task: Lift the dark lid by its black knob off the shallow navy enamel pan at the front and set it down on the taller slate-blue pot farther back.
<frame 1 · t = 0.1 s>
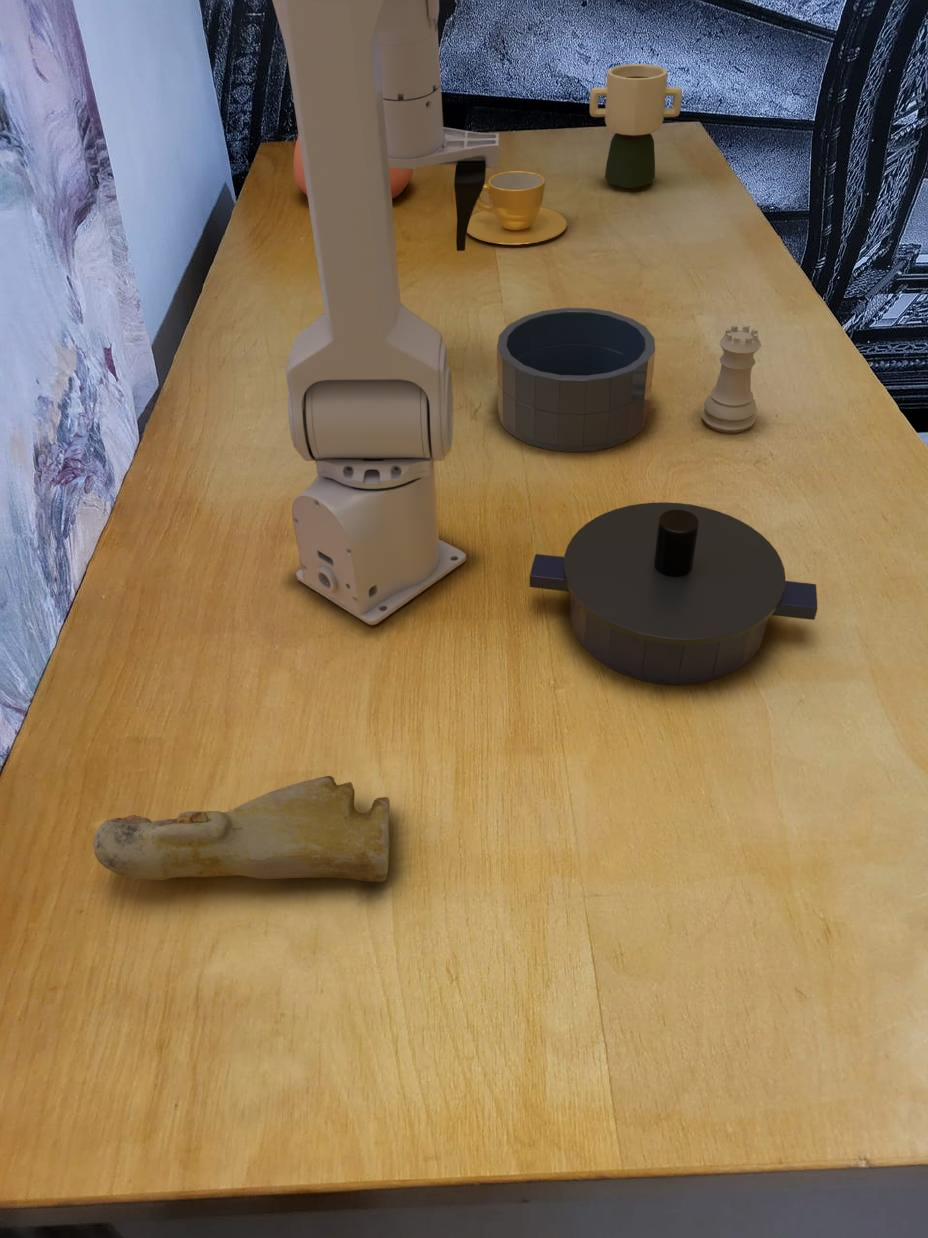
hand: (417, 245, 88), 11 cm above the table, tool pointing down, fingers open, 7 cm apart
pot: (572, 411, 87), on the table
figurine: (253, 856, 54), on the table
teapot: (356, 192, 130), on the table
cup: (515, 229, 118), on the table
character mug: (629, 185, 128), on the table
rook chess piece: (727, 422, 85), on the table
lid: (672, 571, 64), point 4 cm above the table, touching pan
pan: (666, 617, 67), on the table
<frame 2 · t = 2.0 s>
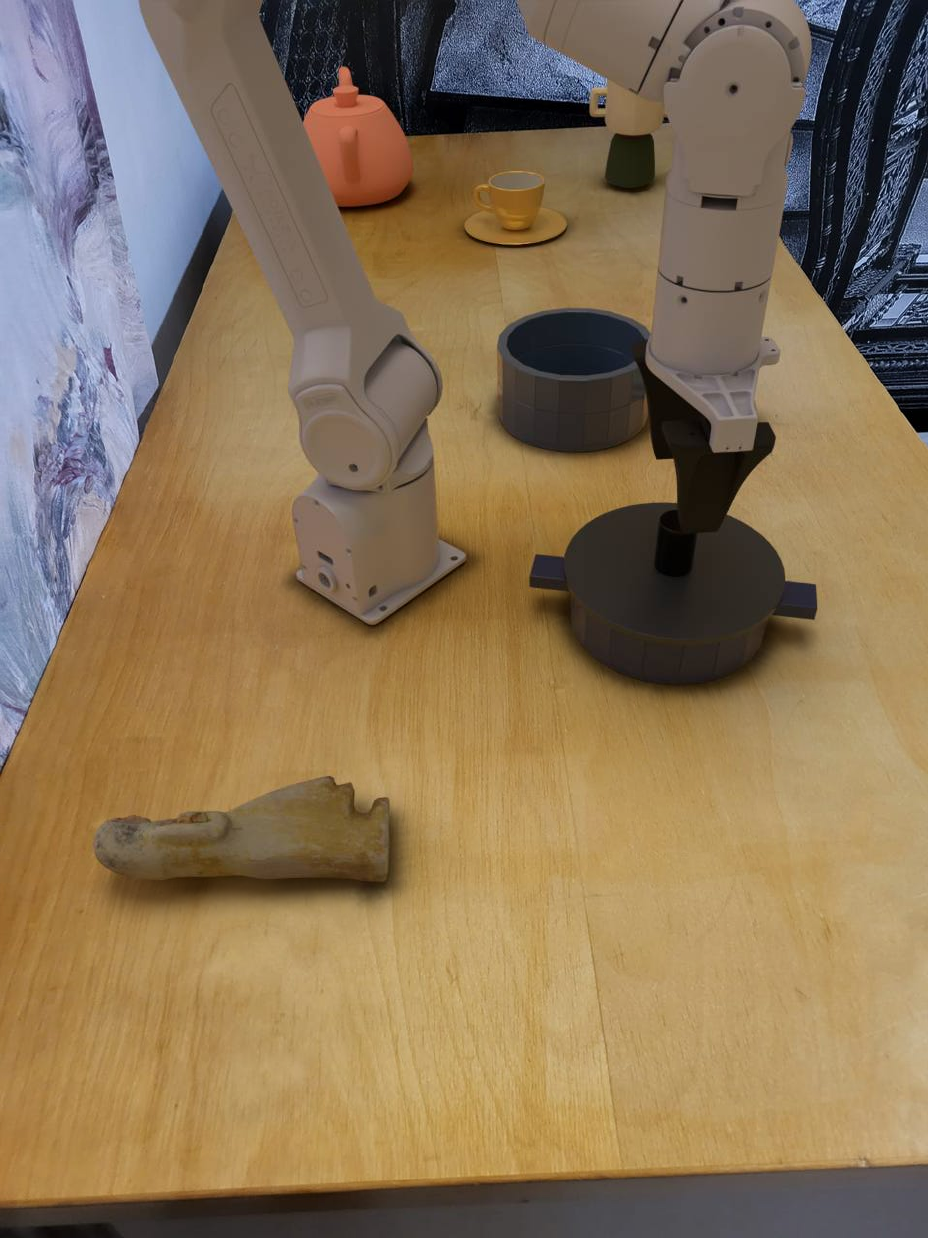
hand: (684, 490, 60), 10 cm above the table, tool pointing down, fingers open, 7 cm apart
nothing on the table moved.
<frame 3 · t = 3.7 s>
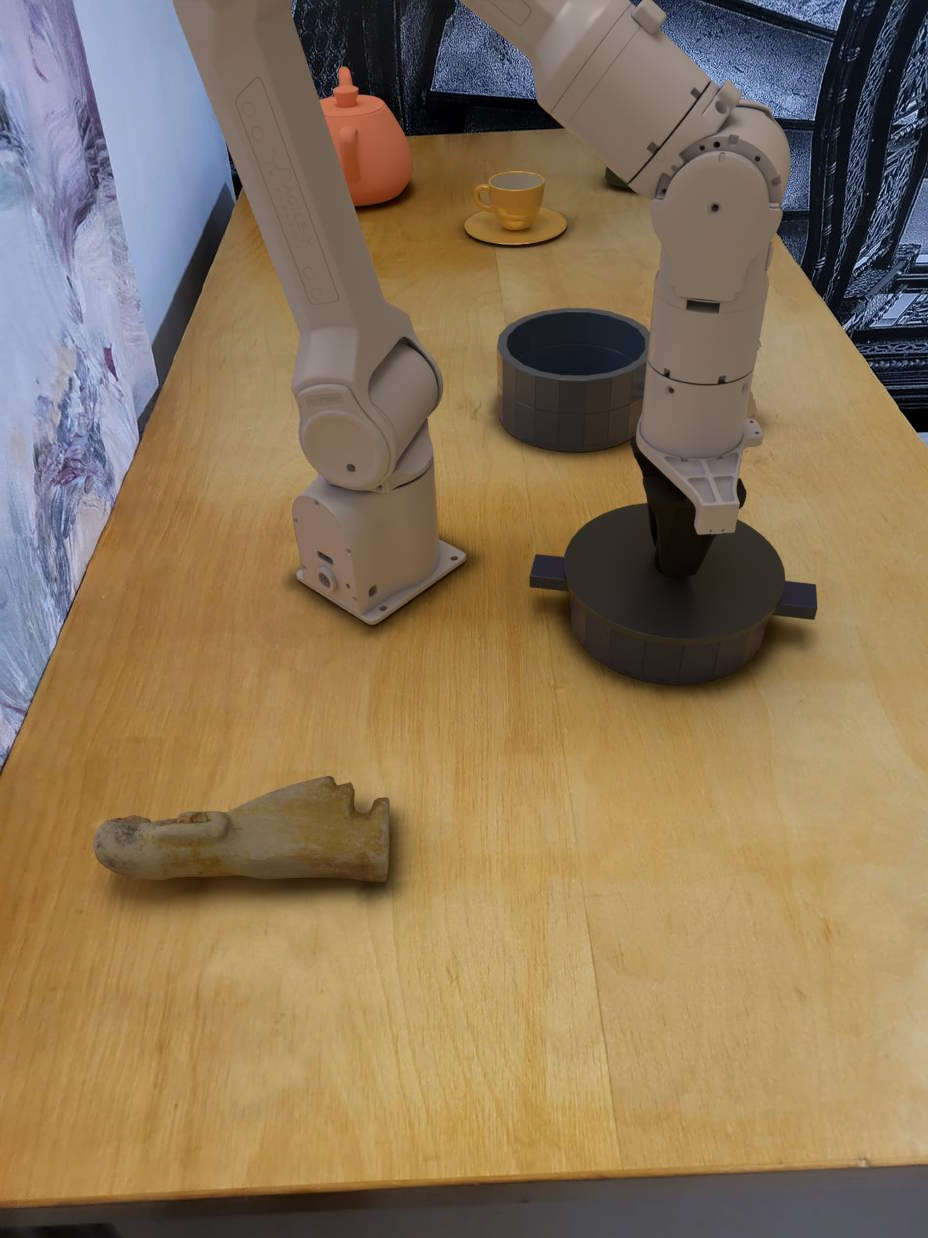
hand: (674, 557, 63), 5 cm above the table, tool pointing down, fingers closed on lid, 2 cm apart
lid: (672, 571, 64), point 4 cm above the table, touching gripper, pan
everything else where it was.
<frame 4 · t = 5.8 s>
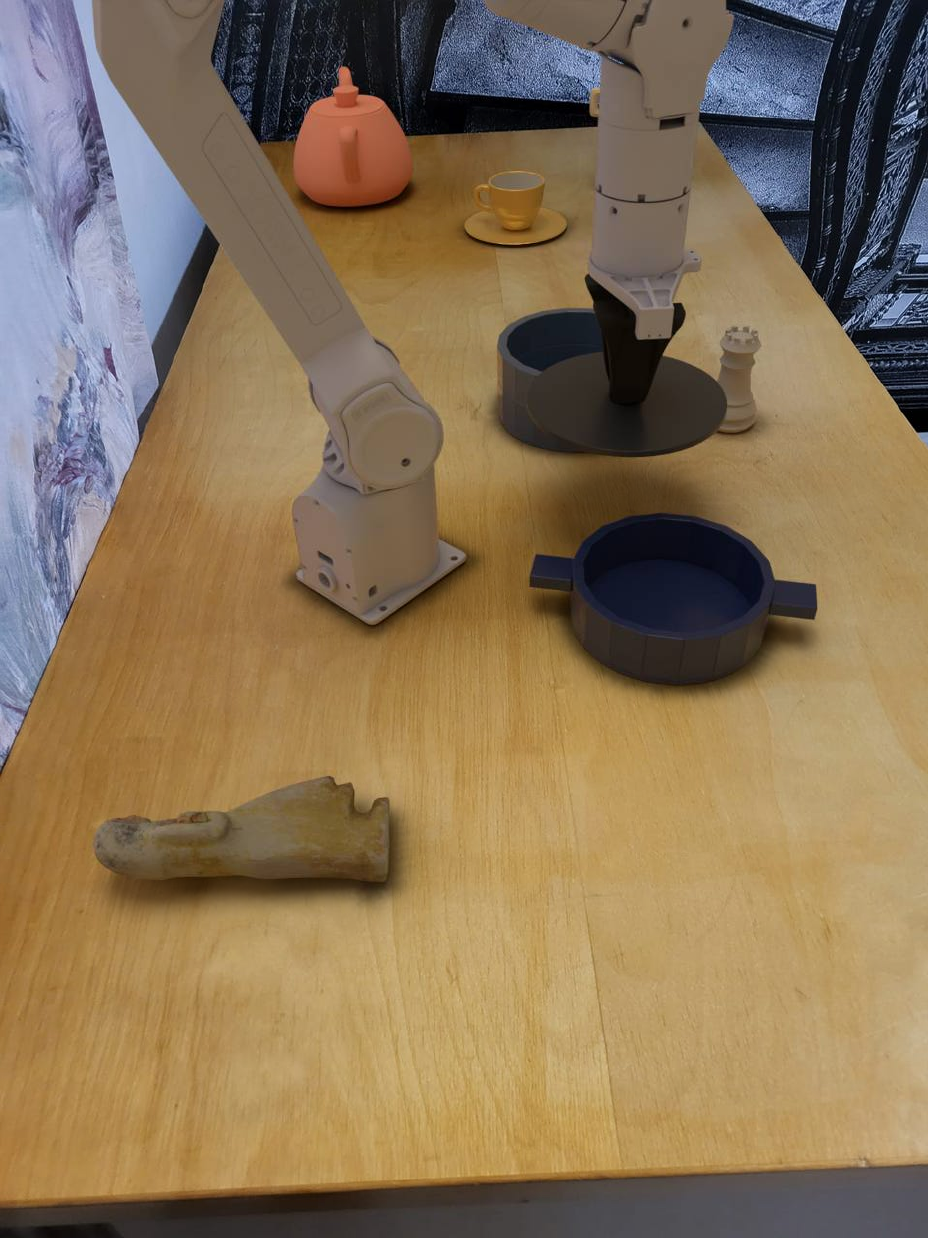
hand: (625, 389, 69), 10 cm above the table, tool pointing down, fingers closed on lid, 2 cm apart
lid: (625, 403, 70), point 9 cm above the table, touching gripper
everything else where it was.
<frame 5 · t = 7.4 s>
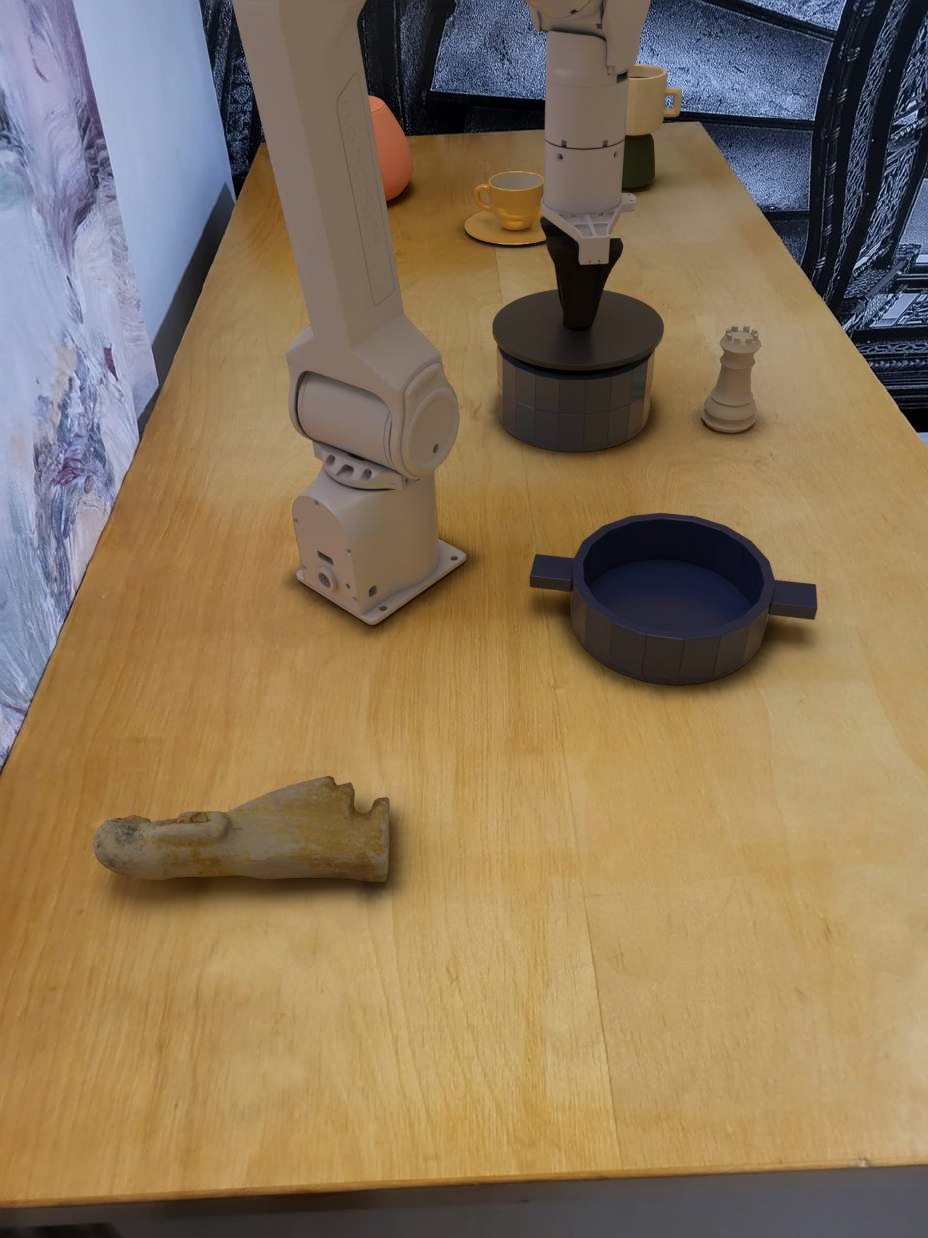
hand: (576, 317, 81), 9 cm above the table, tool pointing down, fingers closed on lid, 2 cm apart
lid: (577, 329, 82), point 8 cm above the table, touching gripper
everything else where it was.
when the fingers open (8 cm above the table, at t = 8.0 s): lid stays where it is, resting on pot.
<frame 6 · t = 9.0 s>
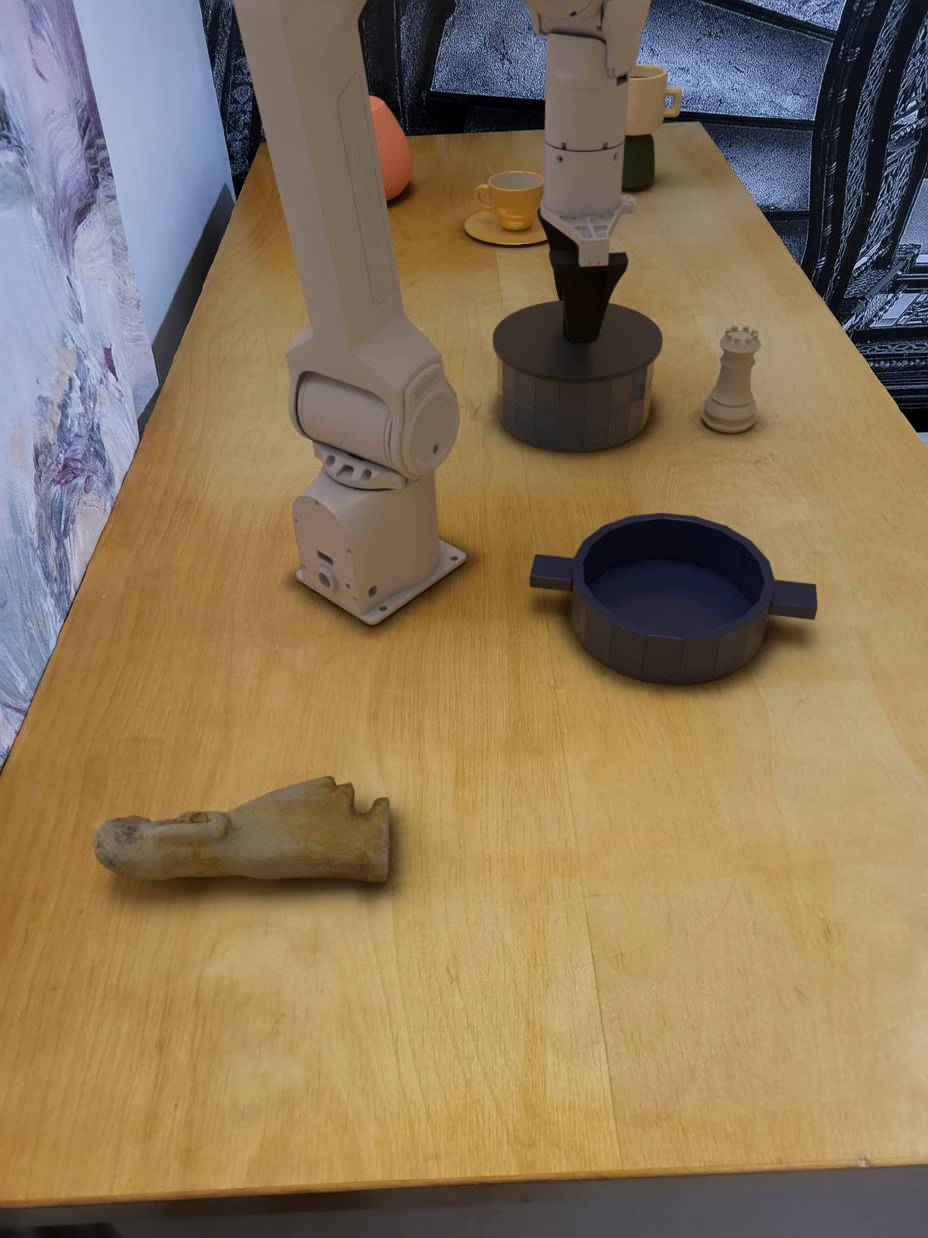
hand: (576, 318, 81), 8 cm above the table, tool pointing down, fingers open, 7 cm apart
lid: (576, 341, 82), point 6 cm above the table, touching pot
everything else where it was.
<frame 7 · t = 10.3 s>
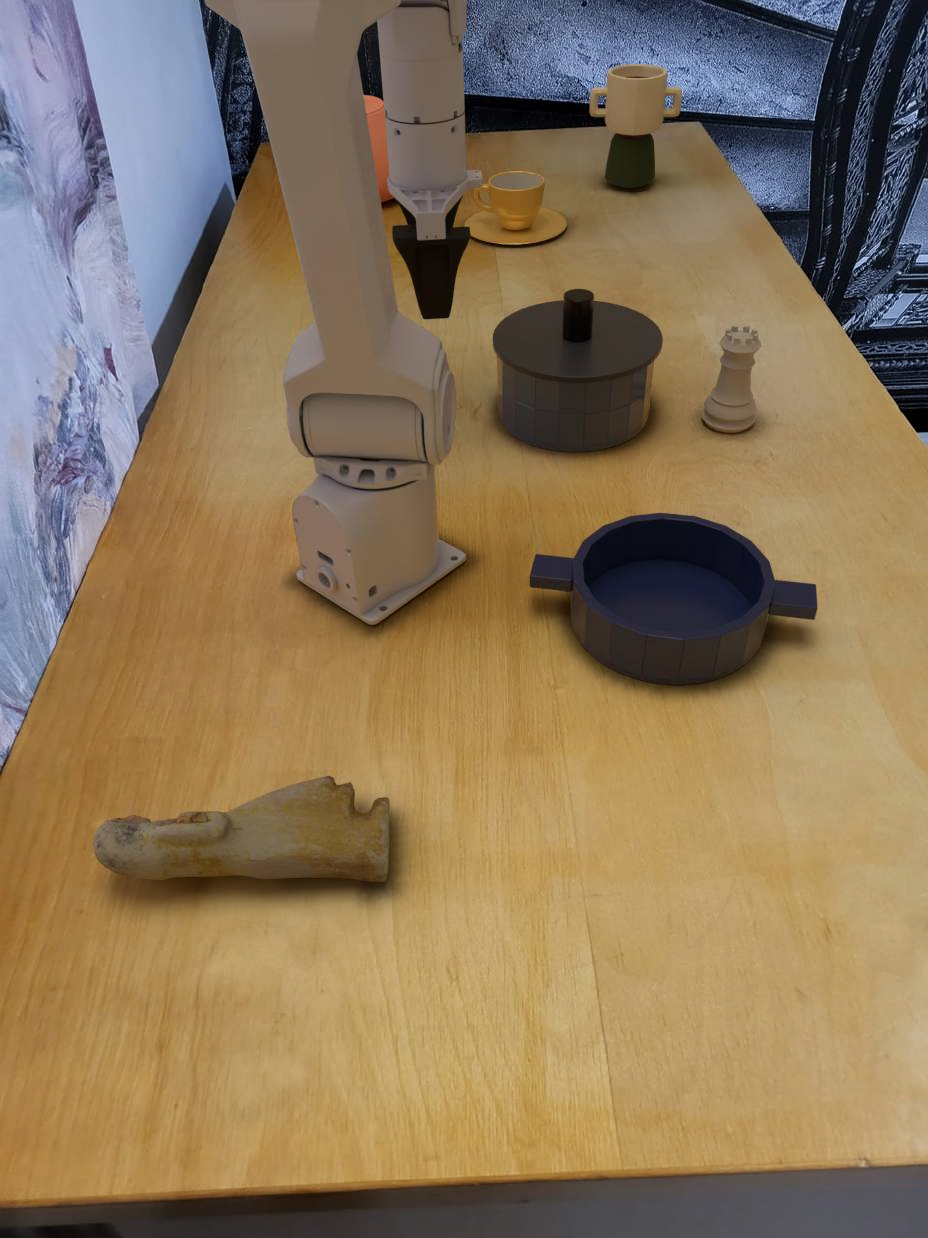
hand: (434, 295, 81), 10 cm above the table, tool pointing down, fingers open, 7 cm apart
nothing on the table moved.
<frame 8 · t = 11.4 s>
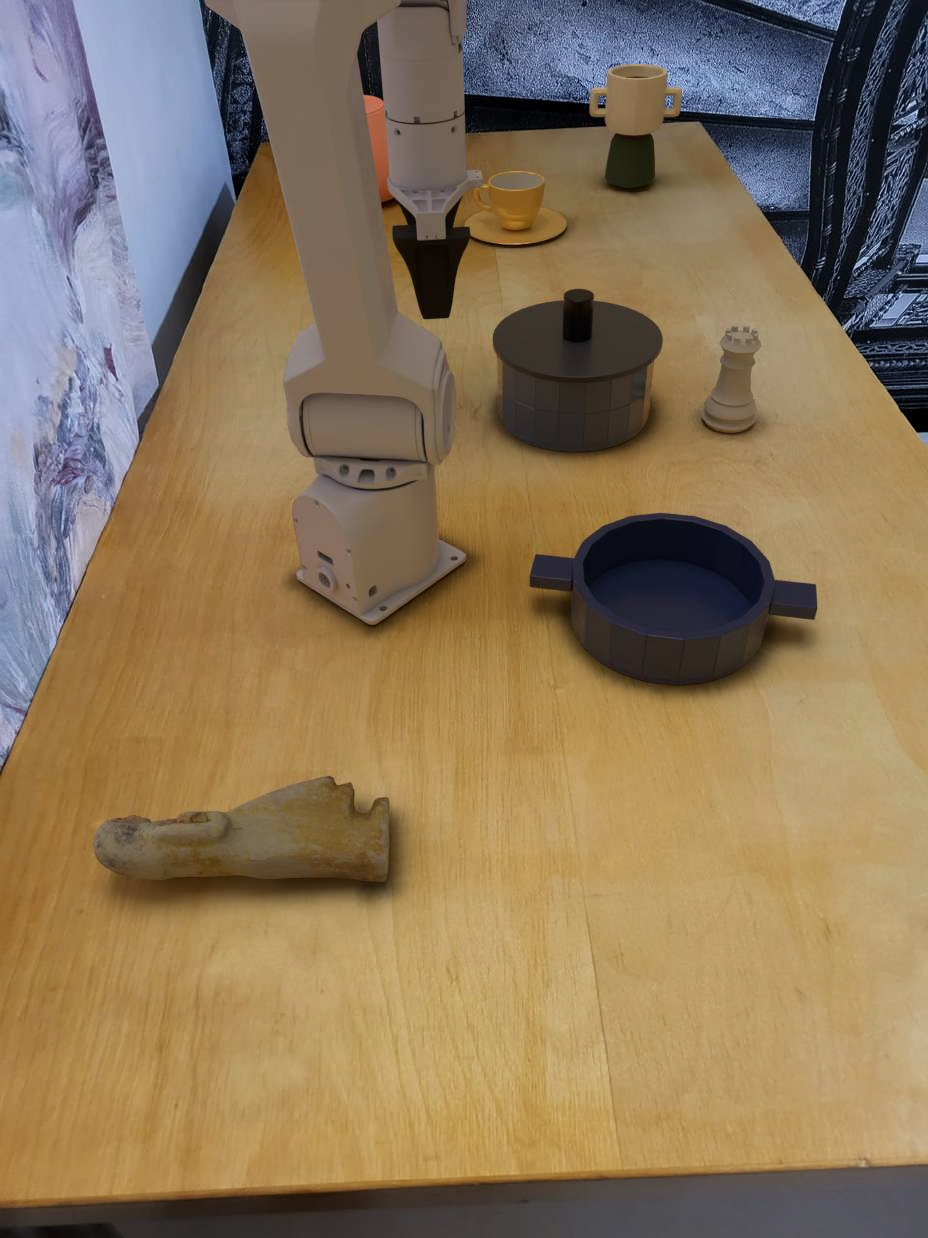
hand: (434, 295, 81), 10 cm above the table, tool pointing down, fingers open, 7 cm apart
nothing on the table moved.
at the end: lid 0.1 cm off-centre on the pot, point 6.5 cm above the pot's base; lid tilted 0°; the gripper is holding nothing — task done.
